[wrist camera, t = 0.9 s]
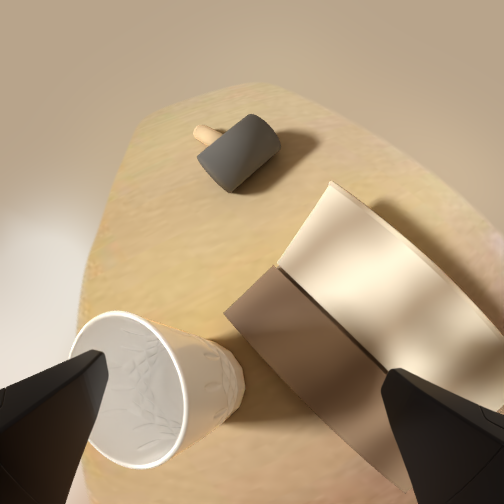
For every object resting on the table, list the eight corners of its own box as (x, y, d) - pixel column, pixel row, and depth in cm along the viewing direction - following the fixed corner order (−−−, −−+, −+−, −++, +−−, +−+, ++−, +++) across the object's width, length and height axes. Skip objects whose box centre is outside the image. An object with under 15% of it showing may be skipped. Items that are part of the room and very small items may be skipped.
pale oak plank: (528, 368, 10) (533, 377, 8) (458, 431, 12) (458, 443, 11) (337, 184, 18) (330, 180, 17) (284, 261, 21) (275, 263, 20)
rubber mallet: (286, 157, 24) (270, 120, 21) (238, 200, 24) (215, 166, 20) (226, 128, 30) (209, 100, 27) (187, 161, 30) (166, 134, 26)
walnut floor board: (454, 436, 12) (460, 440, 11) (402, 487, 12) (405, 493, 11) (280, 266, 21) (277, 261, 20) (228, 315, 21) (222, 313, 20)
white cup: (146, 364, 21) (51, 356, 12) (216, 313, 21) (136, 277, 12) (193, 444, 17) (108, 483, 8) (275, 398, 18) (226, 434, 9)
